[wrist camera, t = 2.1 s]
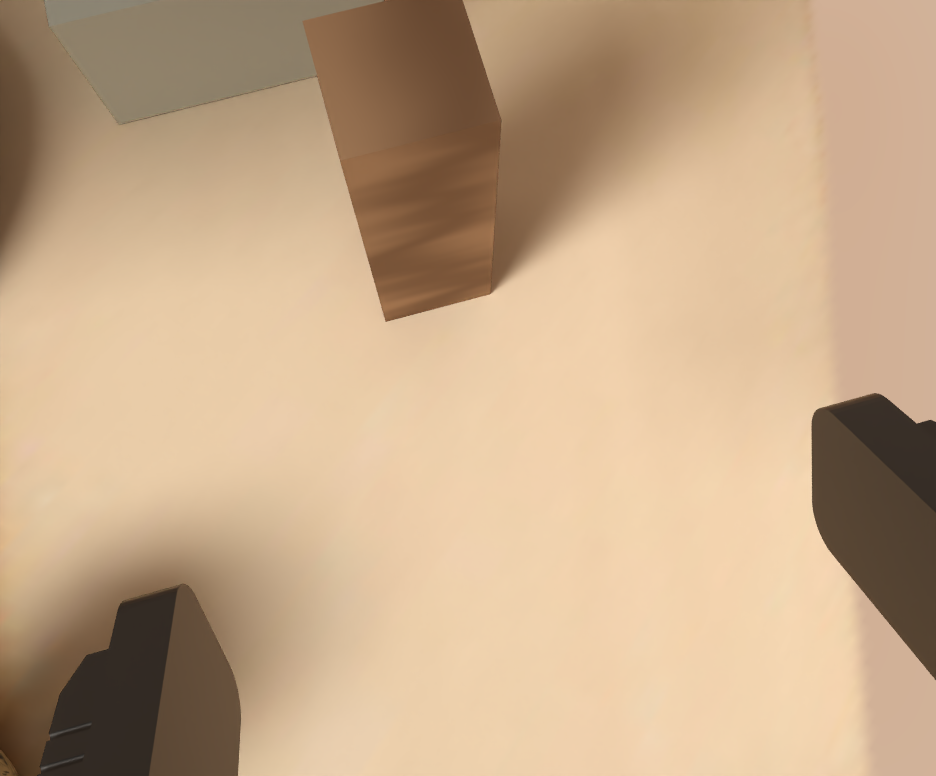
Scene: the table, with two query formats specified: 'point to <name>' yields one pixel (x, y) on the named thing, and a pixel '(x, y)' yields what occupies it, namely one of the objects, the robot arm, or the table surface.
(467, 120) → the brown wooden bar
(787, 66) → the table surface
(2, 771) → the cup
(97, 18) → the socket block
